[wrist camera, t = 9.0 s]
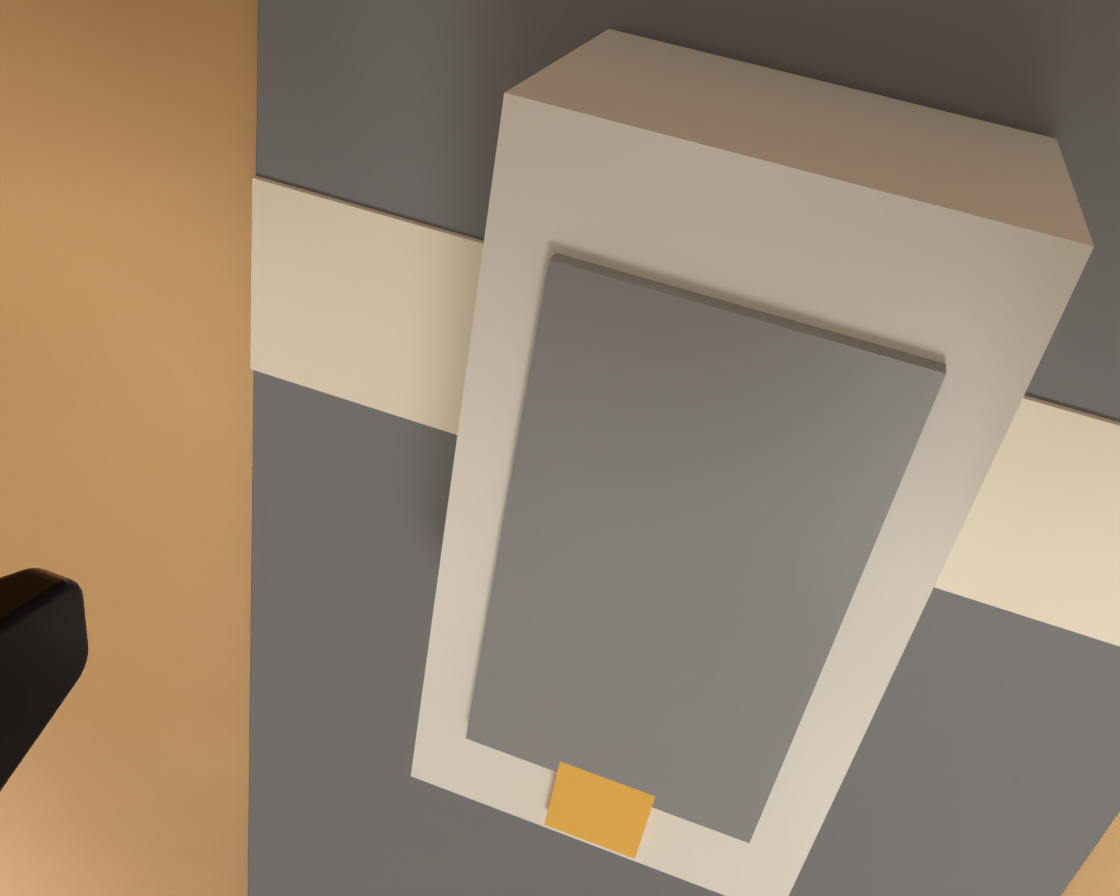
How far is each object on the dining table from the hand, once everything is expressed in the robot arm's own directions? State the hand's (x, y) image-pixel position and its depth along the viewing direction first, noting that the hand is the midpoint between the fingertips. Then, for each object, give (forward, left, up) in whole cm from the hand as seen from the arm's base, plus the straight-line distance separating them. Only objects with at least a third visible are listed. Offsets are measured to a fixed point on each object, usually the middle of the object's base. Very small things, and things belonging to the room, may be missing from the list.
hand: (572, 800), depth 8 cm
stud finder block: (0, 0, -7) cm, 7 cm away
